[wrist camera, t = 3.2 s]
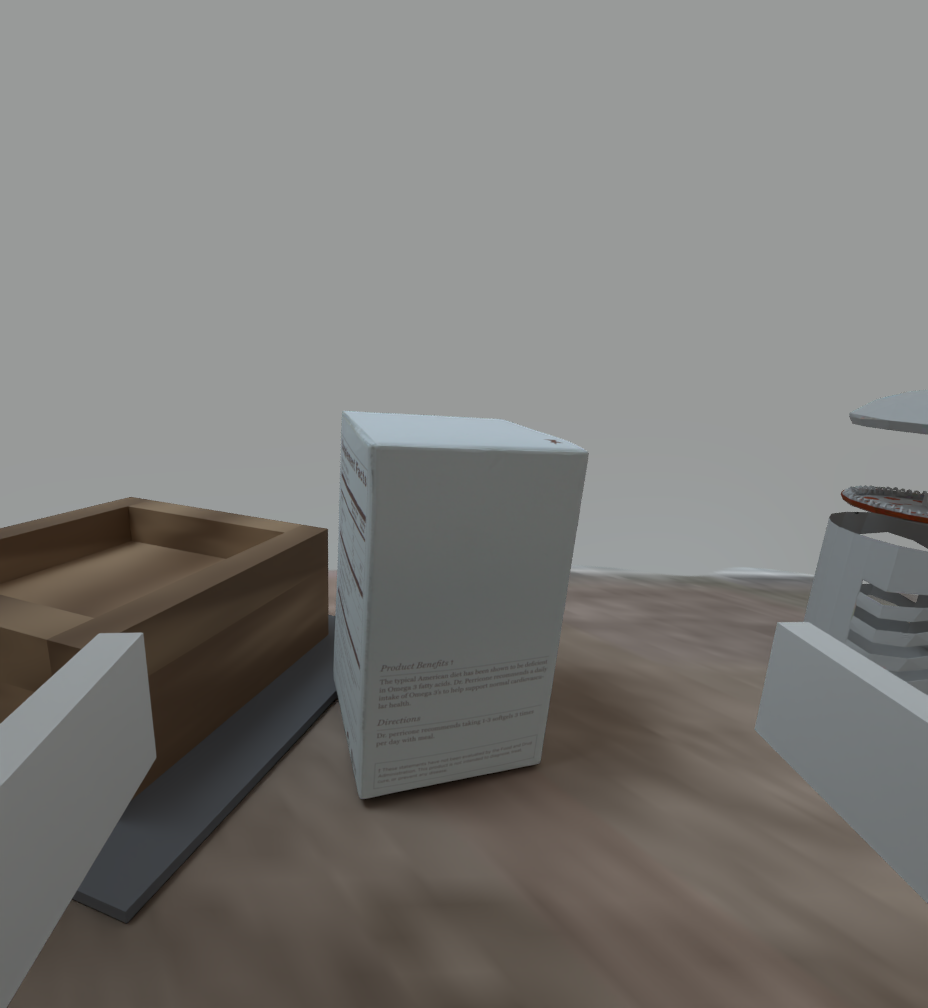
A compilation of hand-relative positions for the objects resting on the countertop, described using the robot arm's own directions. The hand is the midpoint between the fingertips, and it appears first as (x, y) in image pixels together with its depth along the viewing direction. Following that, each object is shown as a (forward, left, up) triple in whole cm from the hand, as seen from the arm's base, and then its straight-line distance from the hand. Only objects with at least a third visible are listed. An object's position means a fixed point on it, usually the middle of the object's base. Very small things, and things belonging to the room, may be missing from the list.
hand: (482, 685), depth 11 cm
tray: (-18, +7, -8) cm, 21 cm away
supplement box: (-4, +9, -9) cm, 13 cm away
